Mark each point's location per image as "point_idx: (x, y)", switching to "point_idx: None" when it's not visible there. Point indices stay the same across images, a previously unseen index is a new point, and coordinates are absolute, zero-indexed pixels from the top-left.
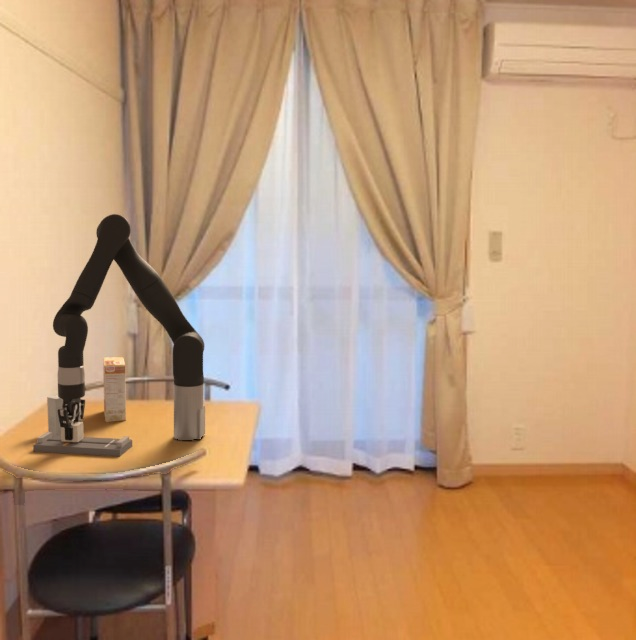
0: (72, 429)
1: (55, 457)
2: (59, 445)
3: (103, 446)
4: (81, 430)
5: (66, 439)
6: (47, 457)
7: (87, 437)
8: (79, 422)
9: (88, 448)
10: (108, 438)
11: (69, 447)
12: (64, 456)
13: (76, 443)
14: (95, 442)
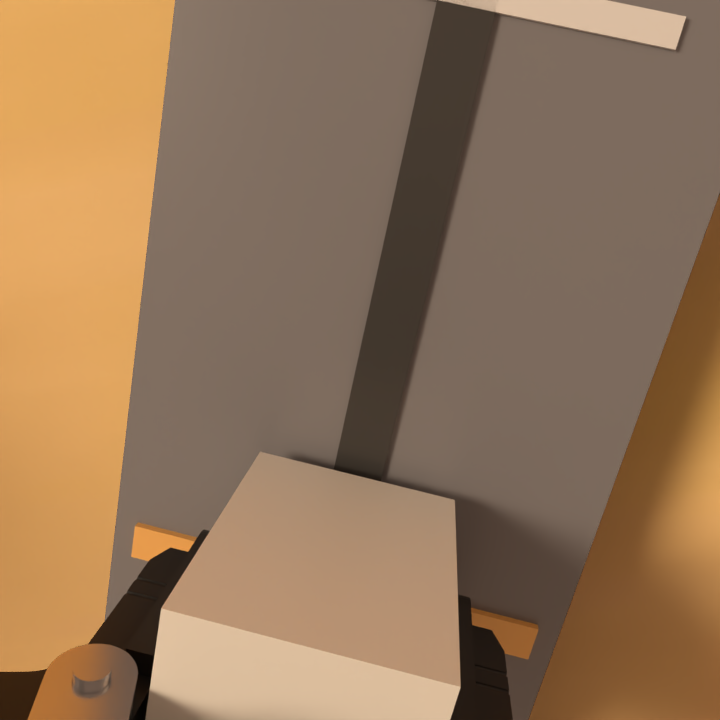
0: None
1: (695, 643)
2: None
3: (635, 73)
4: (292, 542)
5: None
6: (679, 717)
7: (149, 407)
8: (194, 673)
9: (673, 307)
10: (180, 77)
11: (580, 565)
12: (672, 559)
13: None
14: (409, 249)
